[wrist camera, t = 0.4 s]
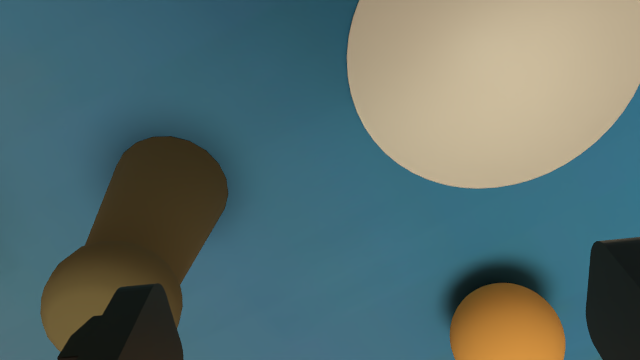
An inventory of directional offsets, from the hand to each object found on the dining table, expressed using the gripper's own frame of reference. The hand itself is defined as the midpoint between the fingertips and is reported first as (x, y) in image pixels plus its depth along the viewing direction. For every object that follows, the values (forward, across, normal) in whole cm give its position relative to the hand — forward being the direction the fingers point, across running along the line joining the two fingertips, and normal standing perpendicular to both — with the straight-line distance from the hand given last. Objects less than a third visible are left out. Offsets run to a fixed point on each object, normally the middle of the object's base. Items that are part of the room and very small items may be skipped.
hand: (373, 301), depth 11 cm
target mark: (+18, -7, 0) cm, 19 cm away
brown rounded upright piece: (+18, +10, +5) cm, 22 cm away
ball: (+16, -7, +16) cm, 23 cm away
